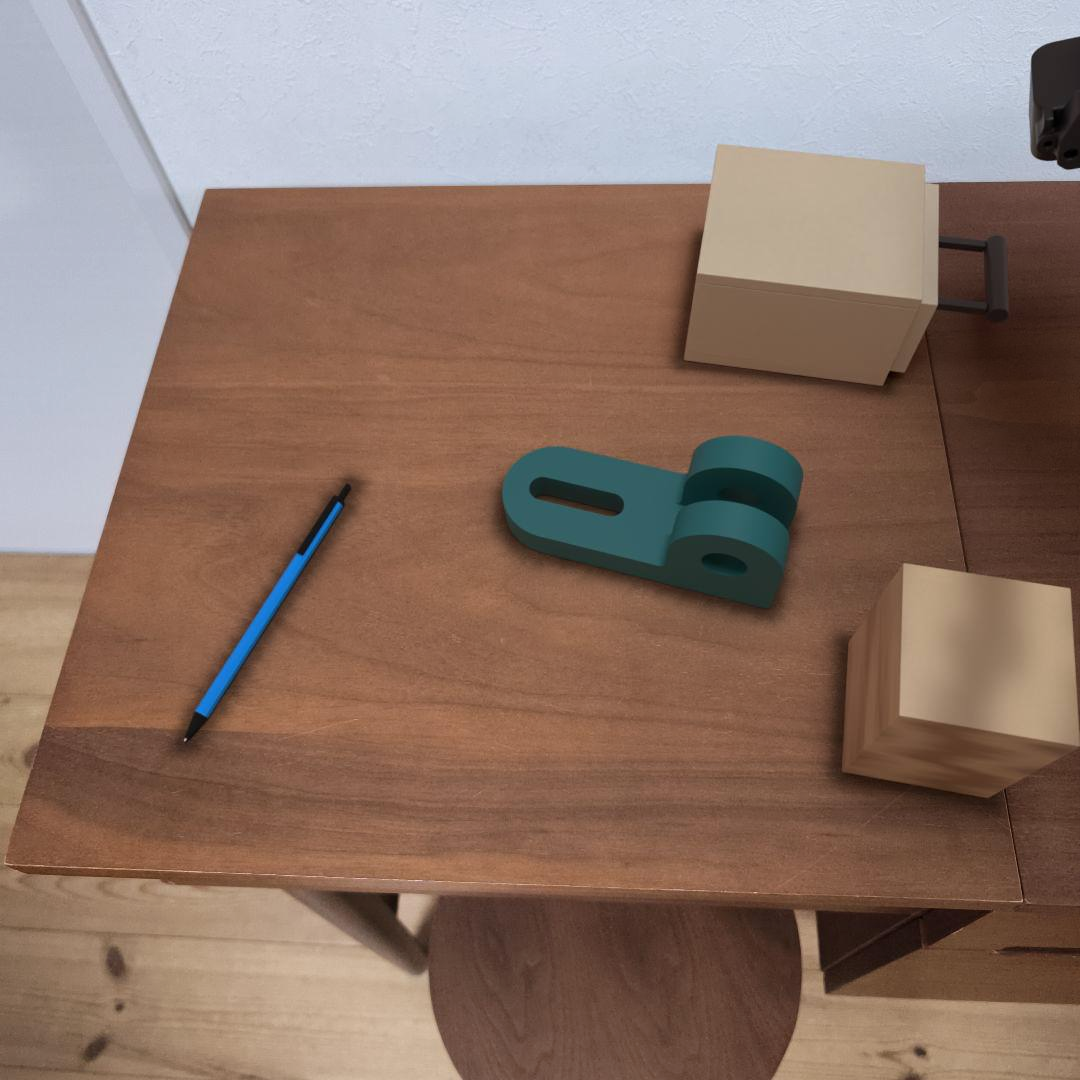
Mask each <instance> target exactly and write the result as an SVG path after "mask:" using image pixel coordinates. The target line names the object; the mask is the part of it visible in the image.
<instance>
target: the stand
mask: <svg viewBox="0 0 1080 1080" xmlns="http://www.w3.org/2000/svg"><path fill="white" fill-rule="evenodd" d="M1071 590H1072V589H1071V588H1070V587H1064V586H1057V585H1051V584H1044V583H1038V582H1030V581H1026V580H1018V579H1011V578H1005V577H999V576H992V575H985V574H978V573H974V572H973V573H972V572H967V571H959V570H953V569H947V568H938V567H932V566H926V565H919V564H913V563H907V562H903V563H902V564H901V566H900V568H899V569H898V570H897V572H896V573H895V574H894V576H893V577H892V579H891V580H890V581H889V583H888V584H887V586H886V587H885V589H884V590H883V592H882V593H881V595H880V596H879V597H878V599H877V600H876V602H875V603H874V605H873V606H872V607H871V609H870V610H869V612H868V613H867V615H866V616H865V618H864V619H863V620H862V622H861V623H860V625H859V626H858V628H857V629H856V630H855V632H854V633H853V635H852V637H851V638H850V639H849V641H848V643H847V644H848V645H847V662H846V681H845V683H846V684H845V698H844V699H845V701H844V718H843V719H844V720H843V739H842V759H841V772H842V773H846V774H851V775H857V776H862V777H869V778H874V779H879V780H884V781H889V782H890V781H891V782H894V783H895V782H897V783H902V784H908V785H913V786H917V787H923V788H929V789H934V790H939V791H946V792H950V793H951V792H952V793H956V794H962V795H968V796H973V797H979V798H985V799H989V798H991V797H993V796H995V795H996V794H998V793H1000V792H1002V791H1003V790H1005V789H1007V788H1009V787H1011V786H1013V785H1014V784H1016V783H1018V782H1020V781H1022V780H1023V779H1025V778H1026V777H1029V776H1030V775H1032V774H1034V773H1035V772H1037V771H1040V770H1041V769H1042V768H1045V767H1046V766H1048V765H1050V764H1052V763H1053V762H1055V761H1057V760H1059V759H1061V758H1063V757H1064V756H1066V755H1067V754H1070V753H1072V752H1073V751H1075V750H1076V749H1078V748H1080V720H1079V719H1080V718H1079V703H1078V688H1077V686H1078V685H1077V672H1076V671H1077V670H1076V669H1077V668H1076V657H1075V656H1076V655H1075V640H1074V639H1075V637H1074V621H1073V606H1072V591H1071Z"/></svg>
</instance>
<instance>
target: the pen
mask: <svg viewBox="0 0 1080 1080" xmlns="http://www.w3.org/2000/svg"><path fill="white" fill-rule="evenodd" d="M351 487H352V486H351V485H350V484H349V483H345V485H344V486H343V488H342V489H341V491H339V494H338V495H333V496H332V497H331V498H330V500H329V501H328V503H327V504H326V506H325V507H324V509H323V511H322V512H321V514H320V515H319V517H318V518H317V520H316V521H315V523H314V525H313V526H312V528H311V529H310V530H309V532H308V534H307V535H306V537H305V538H304V540H303V541H302V543H301V545H300V546H299V548H298V549H297V551H296V554H295V555H294V556H293V558H292V559H291V561H290V562H289V564H288V566H287V567H286V569H285V570H284V572H283V574H282V575H281V577H279V580H278V581H277V582H276V584H275V586H274V587H273V589H272V591H271V592H270V593H269V595H268V596H267V598H266V600H265V601H264V602H263V604H262V606H261V607H260V609H259V611H258V612H257V614H256V615H255V616H254V618H253V620H252V621H251V623H250V625H249V626H248V627H247V629H246V631H244V632H245V633H244V634H243V635H242V637H241V638H240V640H239V642H238V643H237V645H236V647H234V649H233V651H232V653H231V654H230V655H229V657H228V659H227V660H226V661H225V663H224V665H223V667H222V668H221V669H220V671H219V672H218V674H217V675H216V677H215V679H213V681H212V683H211V685H210V687H209V688H208V689H207V691H206V693H205V694H204V695H203V697H202V699H201V701H200V702H199V703H198V705H197V707H196V708H195V710H194V712H193V715H192V717H191V719H190V722H189V725H188V727H187V729H186V732H185V734H184V739H183V742H187V740H189V739H190V738H191V737H192V736H193V735H194V734H195V733H196V732H197V731H198V730H199V729H200V727H202V726H203V724H205V722H206V721H207V720H208V719H209V718H210V716H211V715H212V713H213V712H214V710H215V708H216V707H217V705H218V704H219V702H220V700H221V699H222V697H223V696H224V694H225V693H226V691H227V689H228V688H229V686H230V685H231V683H232V682H233V680H234V678H235V677H236V675H237V674H238V672H239V671H240V669H241V668H242V667H243V664H244V663H245V662H246V660H247V658H248V657H249V655H250V653H251V652H252V650H253V649H254V647H255V646H256V644H257V642H258V641H259V639H260V638H261V636H262V635H263V633H264V631H266V628H267V626H268V625H269V624H270V622H271V620H272V619H273V618H274V616H275V614H276V612H278V609H279V608H280V606H281V605H282V603H283V601H284V600H285V598H286V597H287V595H288V594H289V592H290V591H291V589H292V587H293V586H294V584H295V583H296V581H297V580H298V578H299V576H300V575H301V573H302V571H304V569H305V567H306V566H307V564H308V562H309V561H310V559H311V558H312V556H313V555H314V553H315V551H316V550H317V548H318V547H319V545H320V544H321V542H322V540H323V539H324V537H325V535H326V534H327V532H328V531H329V529H330V527H331V526H332V525H333V523H334V521H335V520H336V518H337V516H338V515H339V514H340V512H341V510H342V509H343V507H344V506H345V501H344V499H345V497H346V495H348V492H349V490H350V489H351Z"/></svg>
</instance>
